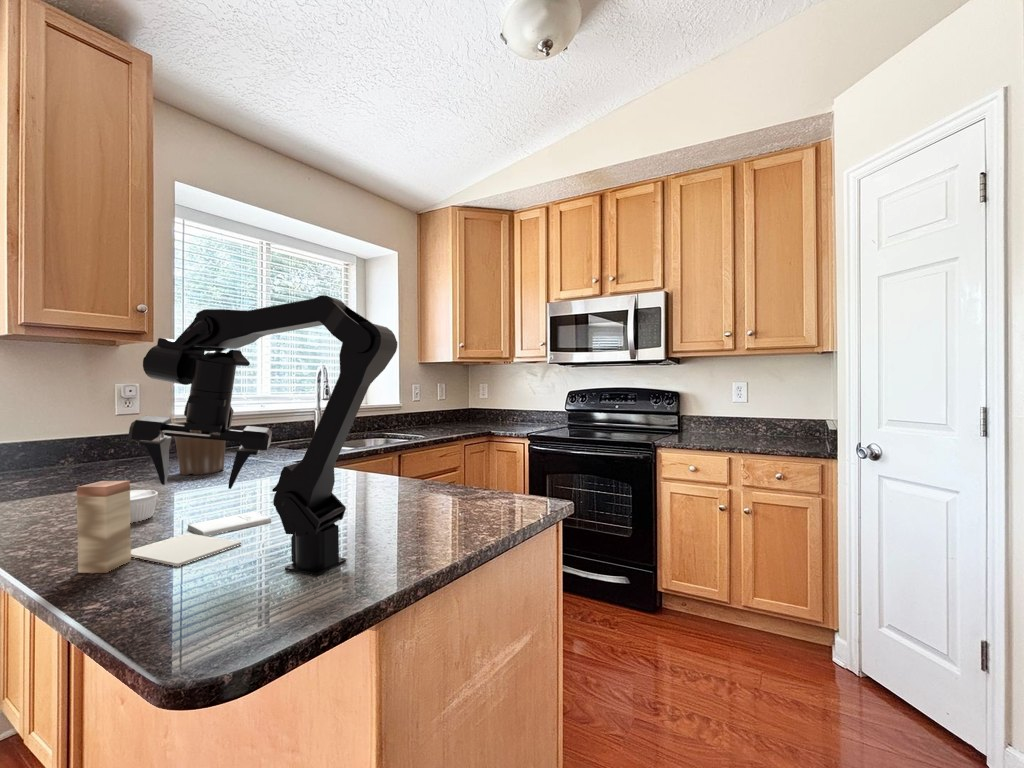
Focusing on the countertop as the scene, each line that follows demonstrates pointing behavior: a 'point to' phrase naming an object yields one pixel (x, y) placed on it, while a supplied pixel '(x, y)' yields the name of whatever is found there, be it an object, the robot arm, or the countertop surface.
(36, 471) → the countertop surface
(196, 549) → the mat
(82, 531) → the post
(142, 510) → the ramekin
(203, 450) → the plant pot
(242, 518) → the external hard drive
